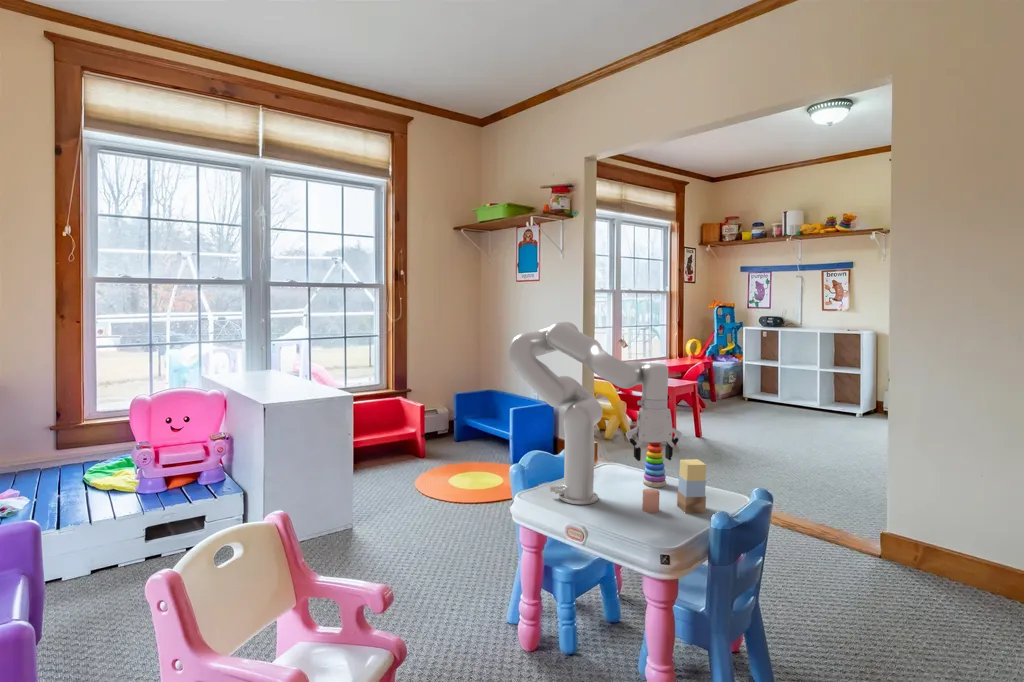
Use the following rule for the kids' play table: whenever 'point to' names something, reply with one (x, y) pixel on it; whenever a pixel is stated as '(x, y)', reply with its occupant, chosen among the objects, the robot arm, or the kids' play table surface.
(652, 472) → the stacking toy
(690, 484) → the tower mid
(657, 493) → the cylinder
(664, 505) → the kids' play table surface
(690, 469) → the tower top
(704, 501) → the tower base
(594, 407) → the robot arm
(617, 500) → the kids' play table surface
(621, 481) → the kids' play table surface
